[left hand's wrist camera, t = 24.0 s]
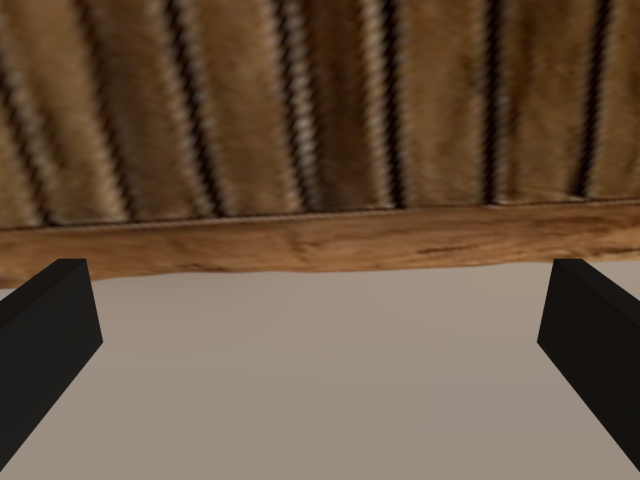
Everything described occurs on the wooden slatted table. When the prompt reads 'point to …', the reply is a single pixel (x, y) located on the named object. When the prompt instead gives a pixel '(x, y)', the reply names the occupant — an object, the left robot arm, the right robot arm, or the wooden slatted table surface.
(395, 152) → the wooden slatted table surface
